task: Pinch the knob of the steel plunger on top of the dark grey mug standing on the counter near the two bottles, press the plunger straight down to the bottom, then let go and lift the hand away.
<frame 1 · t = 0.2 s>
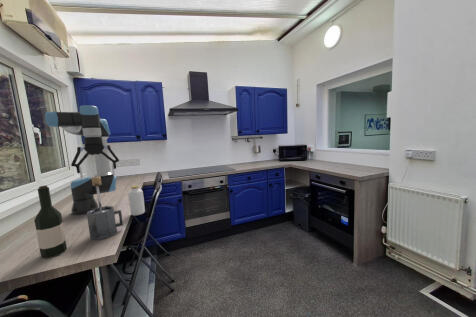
hand: (98, 177, 102), 29 cm above the kitchen counter, fingers open, 13 cm apart
wine bottle: (54, 253, 85), on the kitchen counter
plunger: (98, 195, 98), point 21 cm above the kitchen counter, slide at 0.0 cm
potion bottle: (138, 213, 126), on the kitchen counter
dark grey mug: (104, 234, 100), on the kitchen counter
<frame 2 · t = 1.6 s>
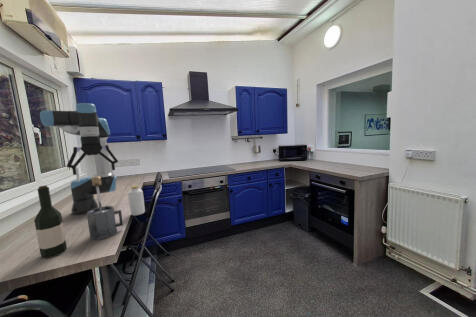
hand: (96, 179, 97), 29 cm above the kitchen counter, fingers open, 13 cm apart
nothing on the kitchen counter moved.
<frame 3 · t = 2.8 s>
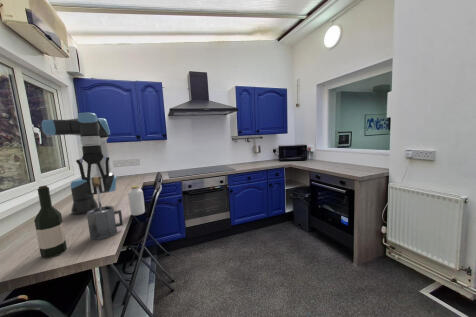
hand: (98, 191, 97), 23 cm above the kitchen counter, fingers closed on plunger, 4 cm apart
plunger: (98, 195, 98), point 21 cm above the kitchen counter, slide at 0.0 cm, touching gripper
everything else where it was.
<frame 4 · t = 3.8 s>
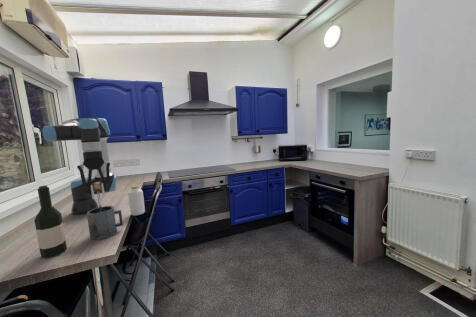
hand: (98, 197, 98), 20 cm above the kitchen counter, fingers closed on plunger, 4 cm apart
plunger: (99, 201, 98), point 18 cm above the kitchen counter, slide at 2.8 cm, touching gripper
everything else where it was.
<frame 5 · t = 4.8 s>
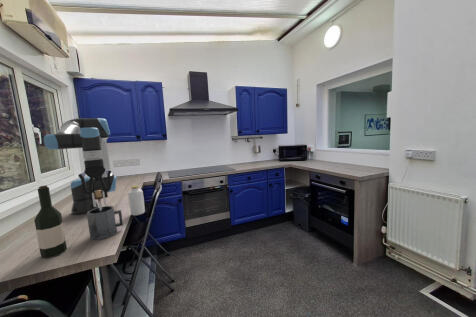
hand: (100, 205, 98), 16 cm above the kitchen counter, fingers closed on plunger, 3 cm apart
plunger: (100, 208, 98), point 14 cm above the kitchen counter, slide at 7.0 cm, touching gripper
everything else where it was.
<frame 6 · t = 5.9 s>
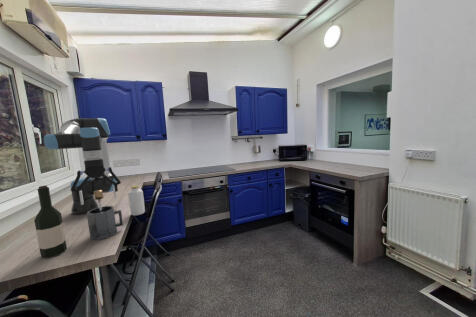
hand: (99, 200, 98), 18 cm above the kitchen counter, fingers open, 13 cm apart
plunger: (100, 208, 98), point 14 cm above the kitchen counter, slide at 7.0 cm
everything else where it was.
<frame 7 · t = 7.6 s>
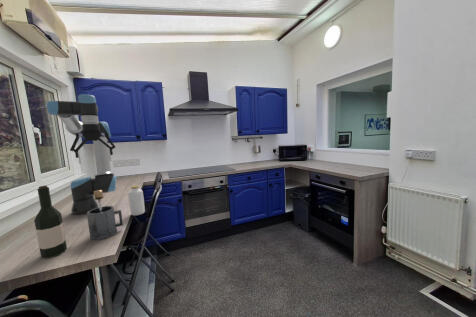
hand: (96, 162, 109), 36 cm above the kitchen counter, fingers open, 13 cm apart
nothing on the kitchen counter moved.
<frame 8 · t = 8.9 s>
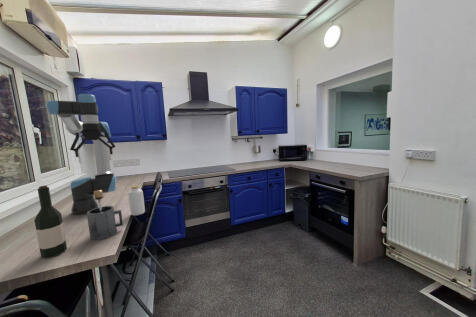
hand: (96, 161, 109), 37 cm above the kitchen counter, fingers open, 13 cm apart
nothing on the kitchen counter moved.
at the end: plunger slide at 7.0 cm; the gripper is holding nothing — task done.
